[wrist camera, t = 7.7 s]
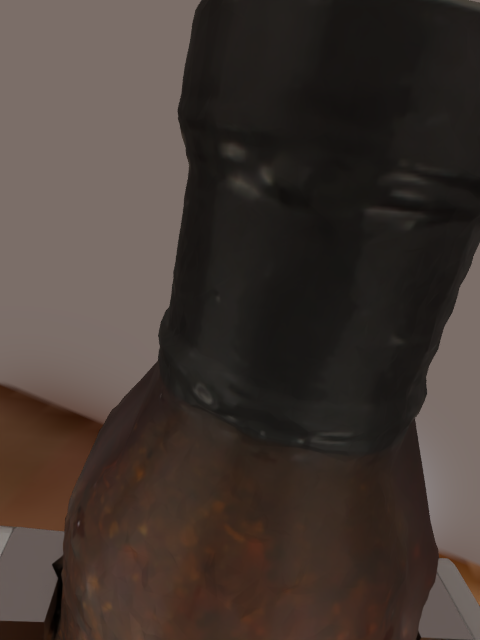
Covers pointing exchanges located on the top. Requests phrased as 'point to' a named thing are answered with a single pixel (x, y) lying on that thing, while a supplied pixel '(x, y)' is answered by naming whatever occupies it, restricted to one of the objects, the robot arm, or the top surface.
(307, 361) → the sauce bottle
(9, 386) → the top surface
